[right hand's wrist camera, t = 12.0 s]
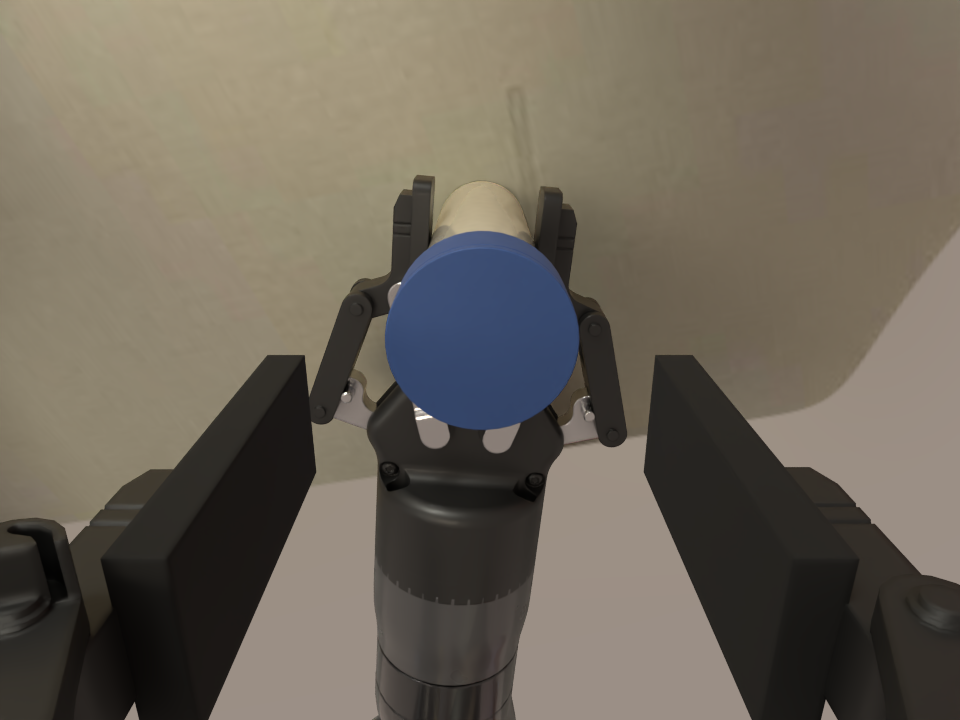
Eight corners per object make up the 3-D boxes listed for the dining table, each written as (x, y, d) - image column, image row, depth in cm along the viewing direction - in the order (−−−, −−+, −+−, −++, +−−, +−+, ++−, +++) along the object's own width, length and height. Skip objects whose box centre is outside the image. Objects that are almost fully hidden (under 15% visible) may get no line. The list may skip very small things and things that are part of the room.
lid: (361, 337, 20) (348, 366, 18) (459, 193, 18) (456, 206, 16) (502, 426, 21) (504, 462, 19) (605, 296, 19) (619, 321, 17)
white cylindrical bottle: (422, 235, 33) (373, 356, 18) (470, 163, 32) (461, 227, 17) (491, 283, 34) (500, 435, 19) (541, 214, 33) (593, 319, 18)
